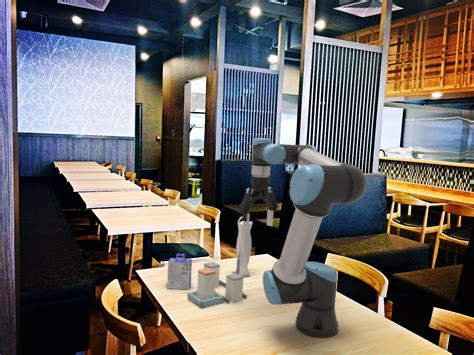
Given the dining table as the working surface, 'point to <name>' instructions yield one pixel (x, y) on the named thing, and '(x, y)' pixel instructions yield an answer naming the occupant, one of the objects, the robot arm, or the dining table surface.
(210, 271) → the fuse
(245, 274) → the skyscraper
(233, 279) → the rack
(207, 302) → the tray
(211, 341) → the dining table surface
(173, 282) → the ink cartridge box
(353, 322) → the dining table surface
